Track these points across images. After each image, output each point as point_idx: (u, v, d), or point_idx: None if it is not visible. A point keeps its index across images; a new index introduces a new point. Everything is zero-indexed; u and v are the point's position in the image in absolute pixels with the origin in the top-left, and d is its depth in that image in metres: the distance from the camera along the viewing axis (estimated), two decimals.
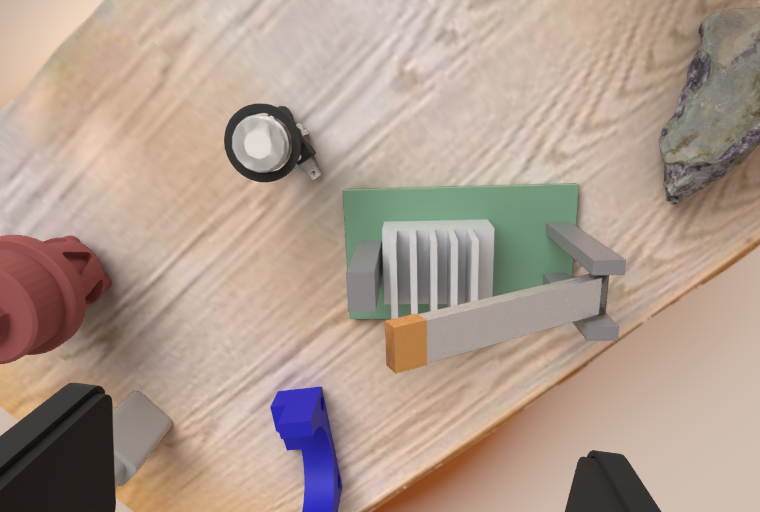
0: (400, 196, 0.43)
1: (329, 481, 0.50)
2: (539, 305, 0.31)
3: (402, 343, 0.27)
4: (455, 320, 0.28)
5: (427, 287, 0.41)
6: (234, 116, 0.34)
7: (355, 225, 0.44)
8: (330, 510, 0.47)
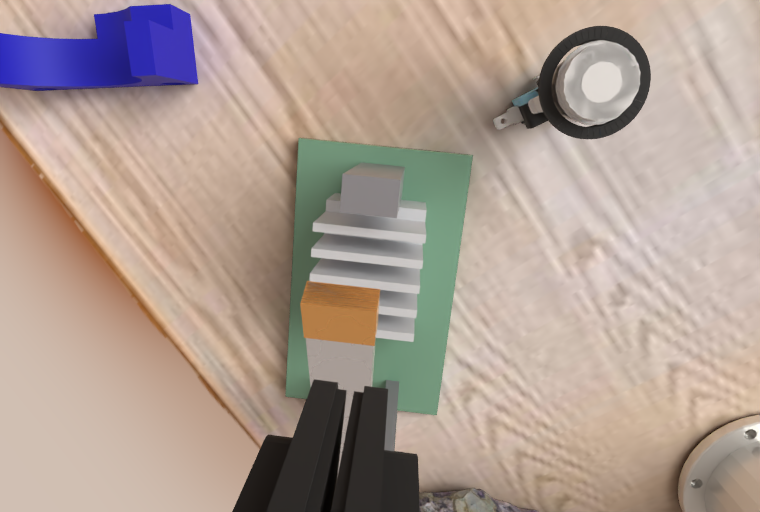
0: (454, 226, 0.35)
1: (47, 78, 0.33)
2: None
3: (347, 317, 0.18)
4: (361, 371, 0.20)
5: None
6: (641, 50, 0.24)
7: (425, 165, 0.34)
8: (0, 80, 0.31)
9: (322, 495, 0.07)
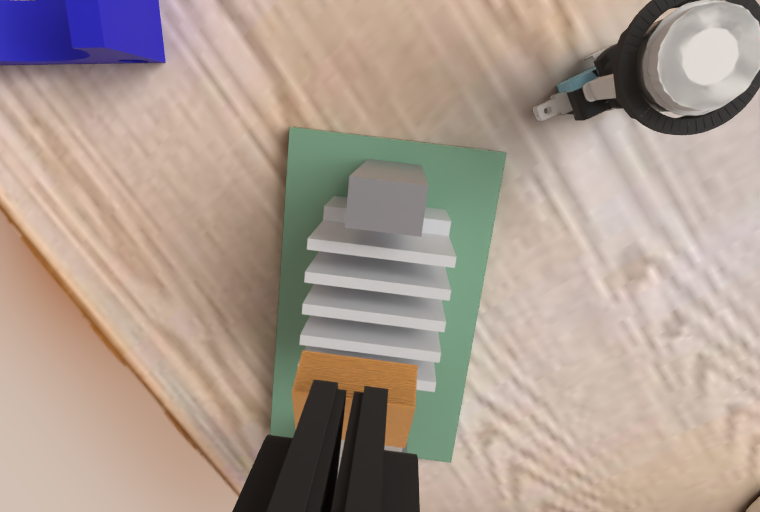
0: (479, 239, 0.28)
1: None
2: None
3: None
4: None
5: None
6: None
7: (447, 163, 0.27)
8: None
9: (322, 495, 0.07)
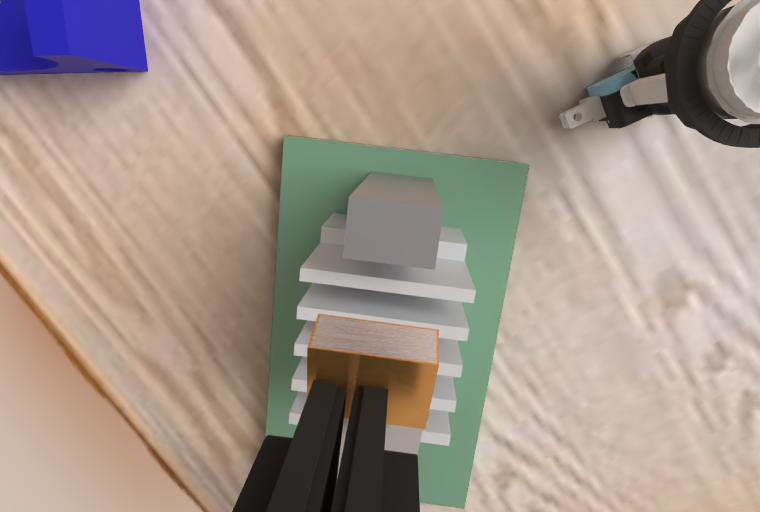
0: (498, 262, 0.25)
1: None
2: None
3: (386, 374, 0.10)
4: None
5: None
6: None
7: (462, 177, 0.24)
8: None
9: (322, 495, 0.07)
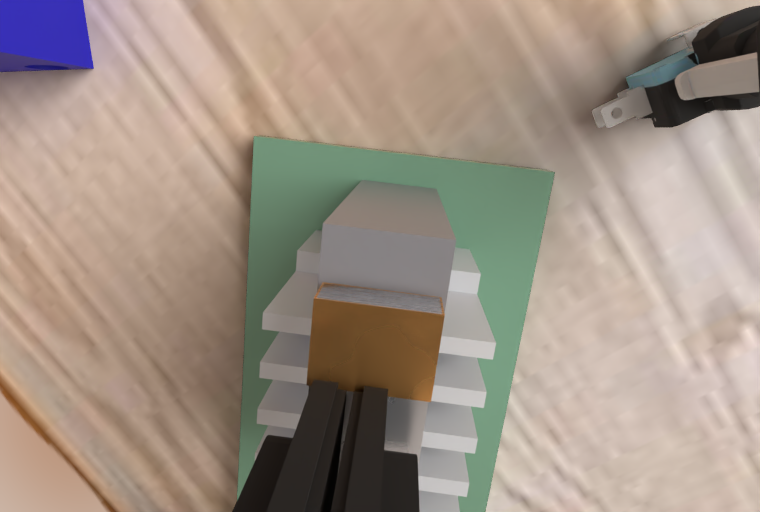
0: (515, 289, 0.21)
1: None
2: None
3: (392, 329, 0.10)
4: None
5: None
6: None
7: (472, 186, 0.20)
8: None
9: (322, 495, 0.07)
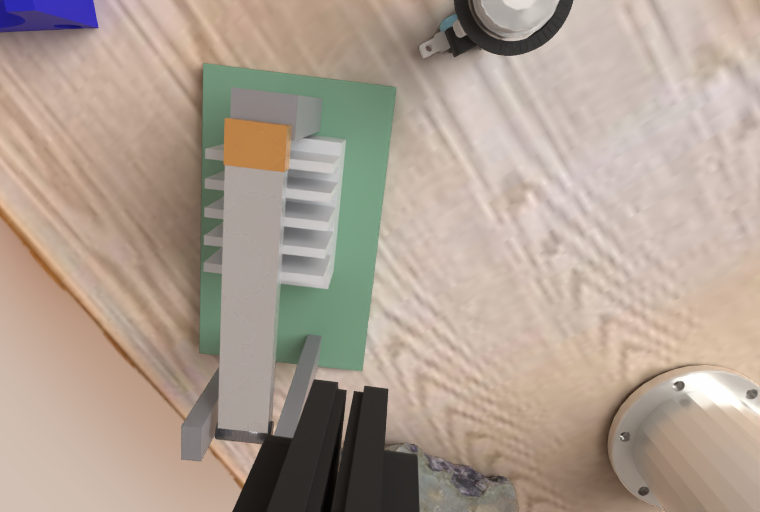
0: (377, 166, 0.32)
1: None
2: (256, 337, 0.24)
3: (263, 133, 0.21)
4: (271, 213, 0.23)
5: None
6: None
7: (345, 97, 0.31)
8: None
9: (322, 495, 0.07)
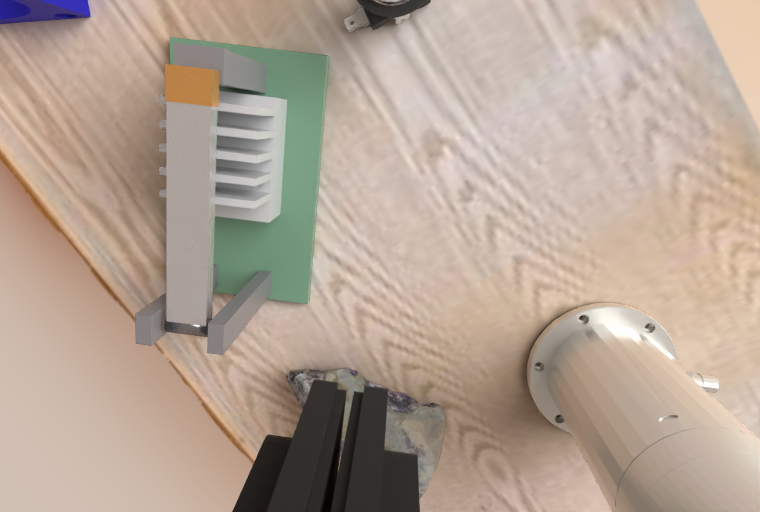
0: (313, 122, 0.38)
1: None
2: (195, 243, 0.31)
3: (194, 75, 0.28)
4: (203, 139, 0.29)
5: None
6: None
7: (285, 64, 0.37)
8: None
9: (322, 495, 0.07)
